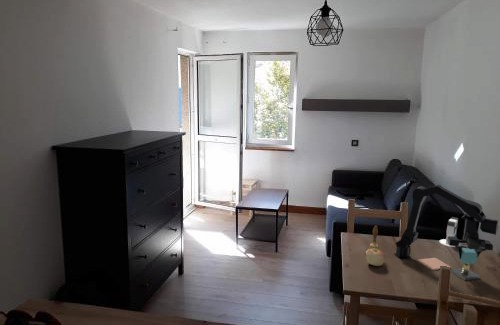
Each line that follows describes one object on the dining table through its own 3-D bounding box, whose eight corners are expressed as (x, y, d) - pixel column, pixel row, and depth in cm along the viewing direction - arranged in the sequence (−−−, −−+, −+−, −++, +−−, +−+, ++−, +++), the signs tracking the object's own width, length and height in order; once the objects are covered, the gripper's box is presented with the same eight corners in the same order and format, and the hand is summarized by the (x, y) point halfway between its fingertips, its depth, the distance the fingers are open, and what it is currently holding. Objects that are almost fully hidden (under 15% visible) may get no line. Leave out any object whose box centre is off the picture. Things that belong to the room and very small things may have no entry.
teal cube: (461, 262, 184) (463, 252, 183) (458, 257, 190) (460, 247, 189) (475, 264, 183) (477, 253, 182) (472, 259, 188) (473, 249, 187)
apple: (368, 259, 202) (370, 245, 200) (385, 264, 197) (387, 249, 195) (363, 265, 195) (364, 250, 193) (380, 270, 190) (382, 255, 188)
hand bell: (362, 252, 211) (364, 224, 208) (374, 250, 214) (376, 222, 211) (372, 258, 204) (375, 229, 201) (384, 256, 207) (387, 228, 204)
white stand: (458, 249, 219) (462, 224, 216) (437, 244, 225) (440, 219, 223) (462, 243, 228) (465, 219, 225) (441, 238, 235) (444, 214, 232)
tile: (432, 270, 192) (432, 268, 191) (417, 260, 202) (417, 259, 202) (450, 268, 194) (450, 266, 194) (435, 259, 205) (435, 257, 205)
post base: (464, 280, 182) (466, 268, 181) (450, 271, 191) (451, 260, 190) (479, 278, 185) (481, 266, 184) (465, 269, 193) (466, 258, 192)
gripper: (454, 232, 178) (450, 264, 181) (499, 237, 173) (494, 269, 176) (448, 224, 188) (444, 254, 191) (491, 229, 184) (486, 259, 187)
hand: (467, 259), depth 186 cm, fingers closed on teal cube, 6 cm apart
